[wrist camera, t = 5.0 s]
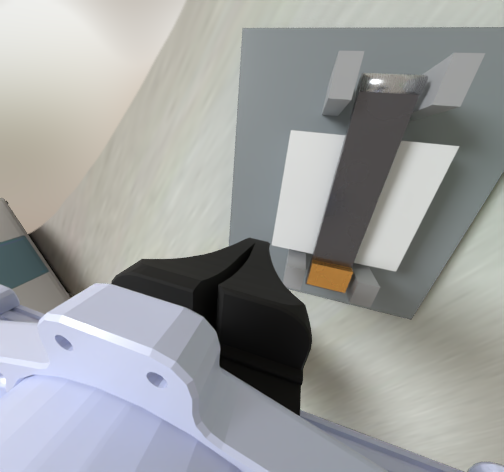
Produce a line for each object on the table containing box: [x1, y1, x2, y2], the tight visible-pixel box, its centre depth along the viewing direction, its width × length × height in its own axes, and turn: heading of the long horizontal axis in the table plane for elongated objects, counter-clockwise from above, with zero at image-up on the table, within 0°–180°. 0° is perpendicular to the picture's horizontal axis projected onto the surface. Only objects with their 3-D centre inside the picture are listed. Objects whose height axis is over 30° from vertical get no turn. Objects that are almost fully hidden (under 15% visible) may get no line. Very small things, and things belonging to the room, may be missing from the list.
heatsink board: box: [229, 27, 504, 320], centre depth 15 cm, size 22×20×6 cm
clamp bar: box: [305, 73, 428, 293], centre depth 13 cm, size 14×3×1 cm, turn 174°
